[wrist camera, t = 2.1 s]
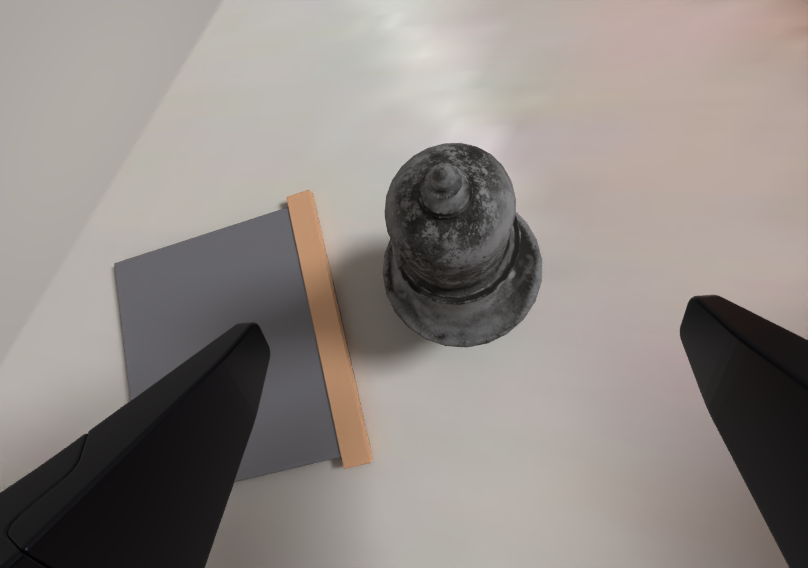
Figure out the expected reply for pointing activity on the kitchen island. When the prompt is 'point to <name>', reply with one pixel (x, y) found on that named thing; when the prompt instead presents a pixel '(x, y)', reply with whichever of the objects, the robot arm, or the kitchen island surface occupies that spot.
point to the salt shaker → (458, 248)
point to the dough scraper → (278, 319)
